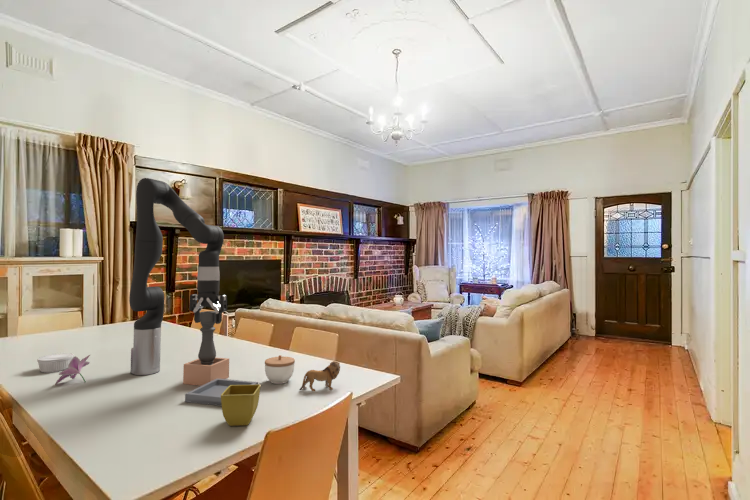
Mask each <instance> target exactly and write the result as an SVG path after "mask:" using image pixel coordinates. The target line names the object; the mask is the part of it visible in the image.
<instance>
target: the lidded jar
mask: <svg viewBox="0 0 750 500" xmlns="http://www.w3.org/2000/svg"><path fill="white" fill-rule="evenodd" d="M295 360H296V359H295V358H294V357H291V356H282V355H278V356H273V357H269V358H267V359H265V360H264V371H265V375H266V377H267V379H268V380H269V381H270V383H271V384H275V385H280V384H286V383H287V382H289V380H290V379H291V378H292V377H293V374H294V371H295V362H296V361H295Z"/></svg>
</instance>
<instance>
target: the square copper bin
mask: <svg viewBox="0 0 750 500" xmlns="http://www.w3.org/2000/svg"><path fill="white" fill-rule="evenodd" d="M213 361H214V362H213V364H212V365H201V361H200V360H199V358H197V359H194V360H190V361H188V362H185V363H183V368H182V369H183V370H182V371H183V373H182V375H183V377H182V384H183V385H193V386H199V387H200V386H202V385H204V384H206V383H208V382H211V381H213V380H215V379H217V378H218V379H228V378H230V358H226V357H217V356H216V357H215V359H214V360H213Z"/></svg>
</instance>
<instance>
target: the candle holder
mask: <svg viewBox="0 0 750 500" xmlns="http://www.w3.org/2000/svg"><path fill="white" fill-rule="evenodd" d="M216 314H217V313H216V312H215V310H204V311H200V322H199V323H200V325H201V327H200V328H199V331H200V332H201V343H200V347H199V351H198V354H197V359H199V360H200V361H201V365H212V364H213V362H214V361H213V360H214V359H215V357H216V358H217V350H216V346H215V341H214V332H215V331H216V327H214V326H215V324H216V323H215V317H216Z"/></svg>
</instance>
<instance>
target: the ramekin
mask: <svg viewBox="0 0 750 500" xmlns="http://www.w3.org/2000/svg"><path fill="white" fill-rule="evenodd" d="M73 357H75V354H74V353H73V352H72V353H71V352H60V353H58V352H57V353H51V354H45V355H42V356H40V357H38V358H37V363H38V368H39V371H40V372H41V373H58V372H59V373H60V372H62V371H64V370H65V369H67V368H68V365H69V363H70V361H71V360H72V358H73Z"/></svg>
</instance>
